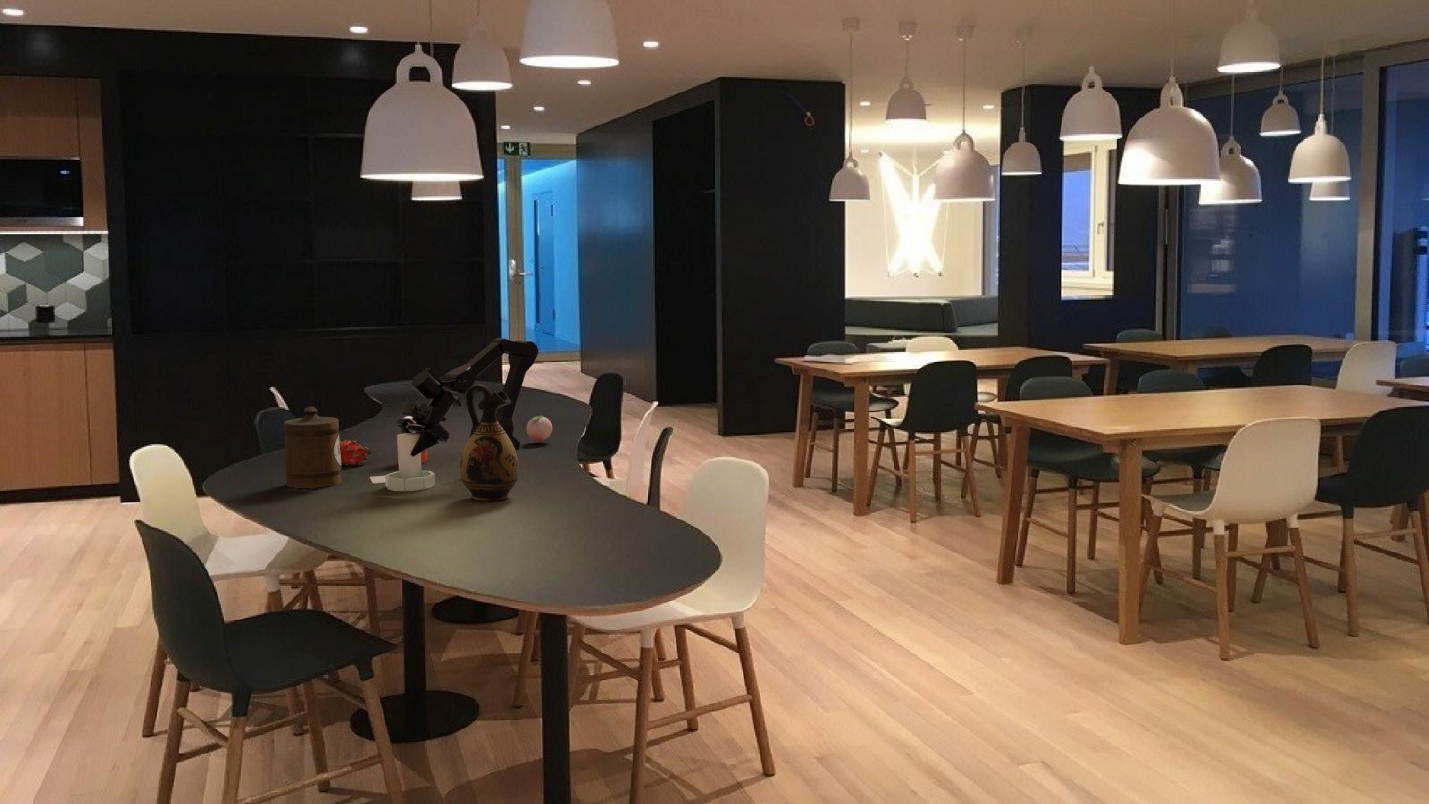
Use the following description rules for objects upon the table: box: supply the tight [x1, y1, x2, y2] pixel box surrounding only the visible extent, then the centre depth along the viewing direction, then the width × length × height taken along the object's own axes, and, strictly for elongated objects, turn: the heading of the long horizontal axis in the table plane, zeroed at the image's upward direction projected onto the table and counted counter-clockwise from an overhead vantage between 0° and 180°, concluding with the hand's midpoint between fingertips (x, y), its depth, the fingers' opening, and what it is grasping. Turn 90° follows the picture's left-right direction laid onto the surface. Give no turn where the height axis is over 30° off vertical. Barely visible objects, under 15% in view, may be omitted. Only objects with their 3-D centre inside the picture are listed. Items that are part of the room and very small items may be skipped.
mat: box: [369, 475, 386, 484], centre depth 355 cm, size 10×10×1 cm
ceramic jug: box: [459, 383, 520, 503], centre depth 327 cm, size 17×15×30 cm
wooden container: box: [283, 406, 343, 489], centre depth 349 cm, size 15×15×22 cm
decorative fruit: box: [526, 413, 553, 444], centre depth 413 cm, size 9×8×10 cm
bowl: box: [384, 469, 436, 492], centre depth 343 cm, size 13×13×4 cm
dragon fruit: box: [339, 439, 372, 467], centre depth 379 cm, size 8×8×12 cm
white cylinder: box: [396, 433, 422, 479], centre depth 343 cm, size 6×6×12 cm
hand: (405, 454), depth 342 cm, fingers closed on white cylinder, 6 cm apart
